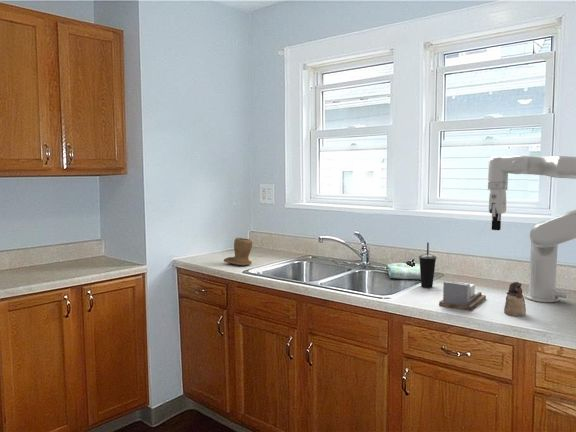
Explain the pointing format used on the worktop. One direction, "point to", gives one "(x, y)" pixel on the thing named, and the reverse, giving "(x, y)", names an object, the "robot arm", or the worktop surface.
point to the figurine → (515, 301)
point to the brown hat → (241, 252)
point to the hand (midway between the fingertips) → (496, 229)
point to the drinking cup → (427, 268)
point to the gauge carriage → (471, 289)
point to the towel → (404, 271)
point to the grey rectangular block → (456, 293)
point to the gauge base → (473, 302)
